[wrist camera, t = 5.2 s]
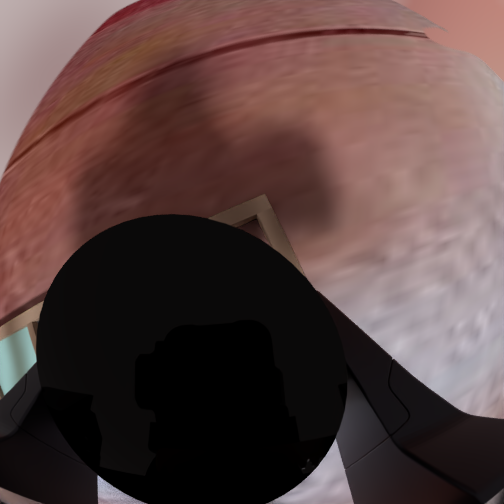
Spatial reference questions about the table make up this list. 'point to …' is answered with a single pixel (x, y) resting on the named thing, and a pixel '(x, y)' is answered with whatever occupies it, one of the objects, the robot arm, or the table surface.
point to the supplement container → (190, 363)
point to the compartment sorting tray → (25, 325)
